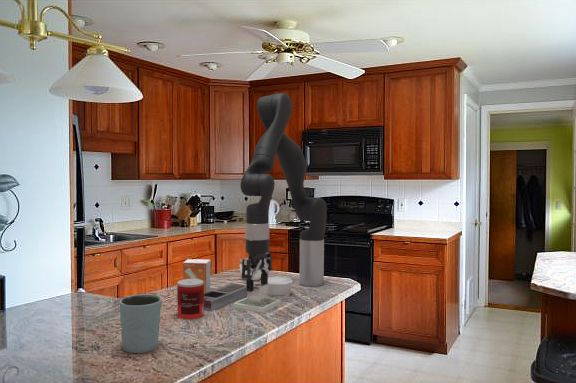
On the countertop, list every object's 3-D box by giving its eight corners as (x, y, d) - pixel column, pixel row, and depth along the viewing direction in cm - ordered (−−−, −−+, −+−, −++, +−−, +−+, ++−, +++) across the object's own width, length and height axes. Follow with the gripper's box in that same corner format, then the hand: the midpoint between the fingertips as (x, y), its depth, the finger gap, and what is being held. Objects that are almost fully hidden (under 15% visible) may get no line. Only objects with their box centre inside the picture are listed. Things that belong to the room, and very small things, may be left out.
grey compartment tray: (230, 294, 172) (230, 283, 172) (250, 297, 169) (250, 285, 168) (190, 310, 153) (190, 297, 153) (211, 314, 149) (211, 301, 149)
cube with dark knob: (255, 304, 159) (255, 282, 158) (267, 305, 157) (267, 283, 156) (247, 307, 155) (247, 285, 154) (259, 309, 152) (259, 287, 152)
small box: (182, 301, 164) (182, 262, 163) (187, 296, 170) (187, 258, 170) (206, 301, 163) (206, 262, 163) (210, 296, 170) (210, 259, 169)
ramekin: (292, 299, 167) (292, 284, 167) (259, 299, 167) (259, 283, 167) (292, 291, 178) (292, 276, 178) (262, 290, 179) (262, 276, 178)
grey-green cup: (138, 337, 129) (137, 292, 128) (170, 343, 125) (170, 296, 124) (110, 350, 120) (110, 302, 119) (144, 357, 116) (143, 307, 115)
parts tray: (251, 302, 163) (251, 295, 163) (280, 306, 158) (280, 299, 158) (232, 310, 153) (232, 303, 153) (263, 315, 148) (263, 308, 148)
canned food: (194, 312, 151) (193, 277, 150) (209, 318, 145) (209, 281, 145) (172, 318, 146) (171, 281, 145) (187, 324, 140) (186, 286, 139)
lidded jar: (233, 279, 196) (233, 255, 195) (252, 274, 204) (252, 252, 203) (253, 283, 189) (253, 259, 188) (271, 278, 197) (271, 255, 197)
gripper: (259, 233, 162) (258, 282, 163) (234, 239, 150) (234, 291, 151) (278, 235, 159) (278, 285, 160) (255, 241, 146) (255, 295, 147)
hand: (257, 288), depth 155 cm, fingers open, 8 cm apart
